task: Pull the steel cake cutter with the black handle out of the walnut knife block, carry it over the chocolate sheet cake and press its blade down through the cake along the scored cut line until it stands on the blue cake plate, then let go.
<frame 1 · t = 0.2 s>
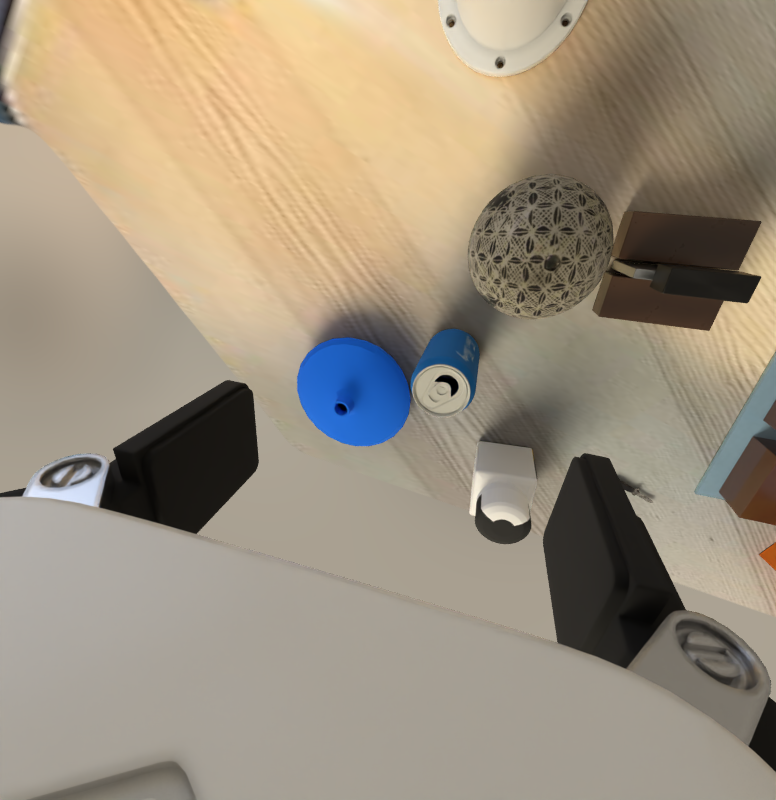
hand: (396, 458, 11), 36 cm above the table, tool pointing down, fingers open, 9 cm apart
cake cutter: (660, 269, 38), on the table
decorative egg: (528, 245, 40), on the table
beverage can: (453, 352, 47), on the table
vase: (359, 386, 52), on the table
medicine bottle: (501, 464, 52), on the table
knife: (626, 491, 49), on the table
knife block: (660, 269, 38), on the table
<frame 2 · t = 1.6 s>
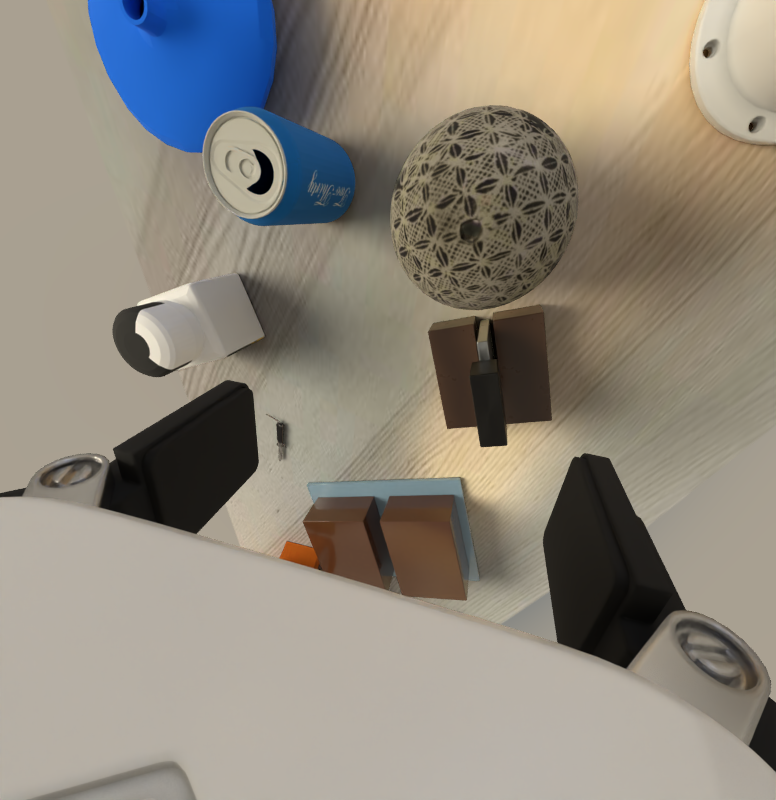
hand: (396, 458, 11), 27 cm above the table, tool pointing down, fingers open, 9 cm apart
alarm clock: (307, 568, 58), on the table
cake cutter: (491, 364, 36), on the table
decorative egg: (483, 216, 31), on the table
cake: (393, 530, 49), on the table
beverage can: (324, 182, 33), on the table
vase: (207, 45, 31), on the table
medicine bottle: (228, 312, 42), on the table
knife: (277, 437, 47), on the table
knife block: (491, 364, 36), on the table
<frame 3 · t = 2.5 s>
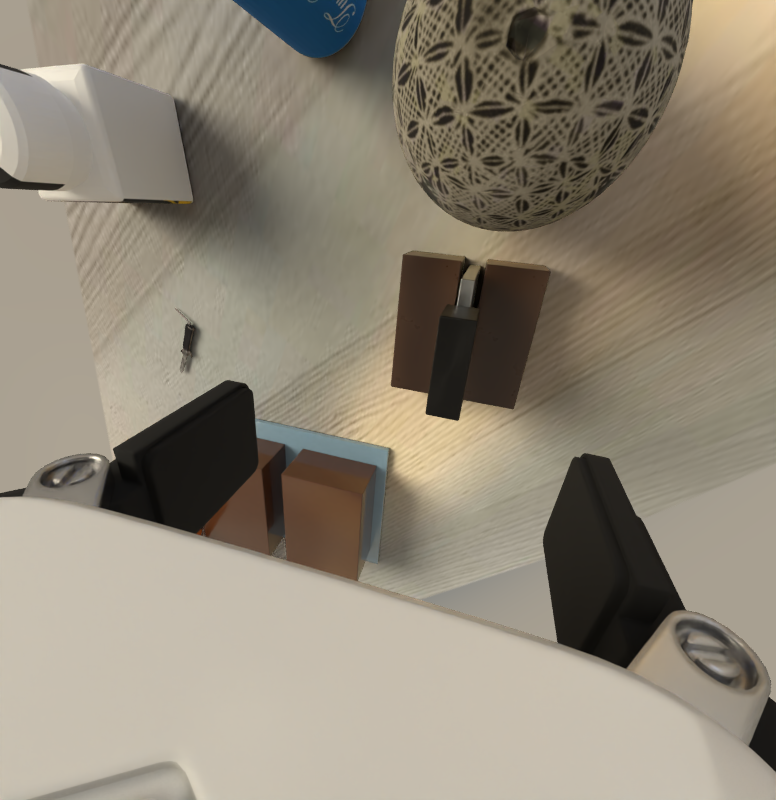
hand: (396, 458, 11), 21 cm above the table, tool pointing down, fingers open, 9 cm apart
cake cutter: (464, 325, 29), on the table
decorative egg: (517, 123, 23), on the table
cake: (298, 487, 42), on the table
medicine bottle: (150, 153, 30), on the table
knife: (183, 342, 38), on the table
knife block: (464, 325, 29), on the table
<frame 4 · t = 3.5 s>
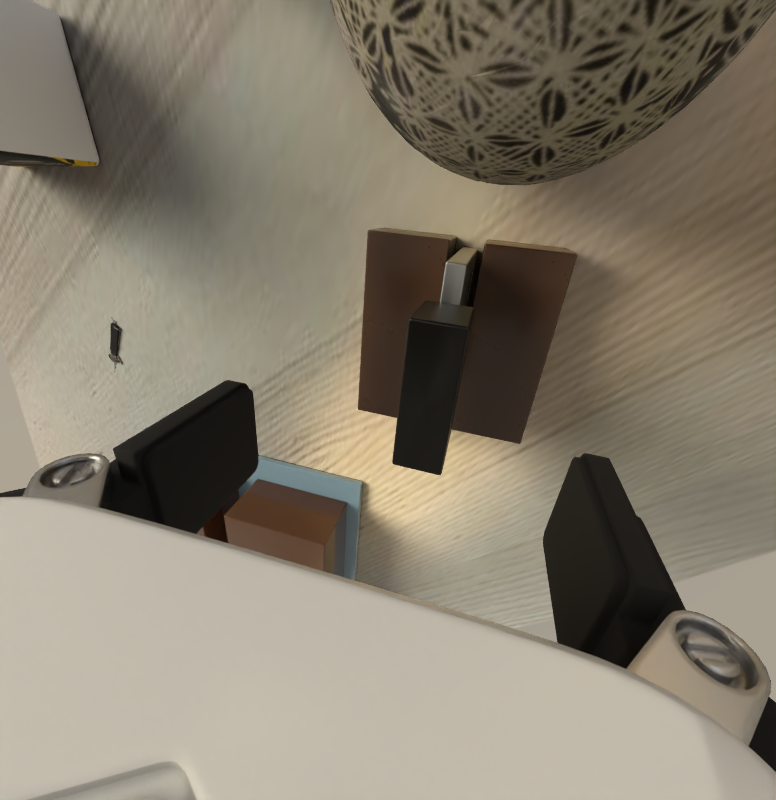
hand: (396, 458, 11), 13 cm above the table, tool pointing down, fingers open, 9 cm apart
cake cutter: (455, 329, 22), on the table
decorative egg: (531, 37, 16), on the table
cake: (255, 522, 35), on the table
medicine bottle: (41, 98, 23), on the table
knife: (112, 346, 31), on the table
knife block: (455, 329, 22), on the table
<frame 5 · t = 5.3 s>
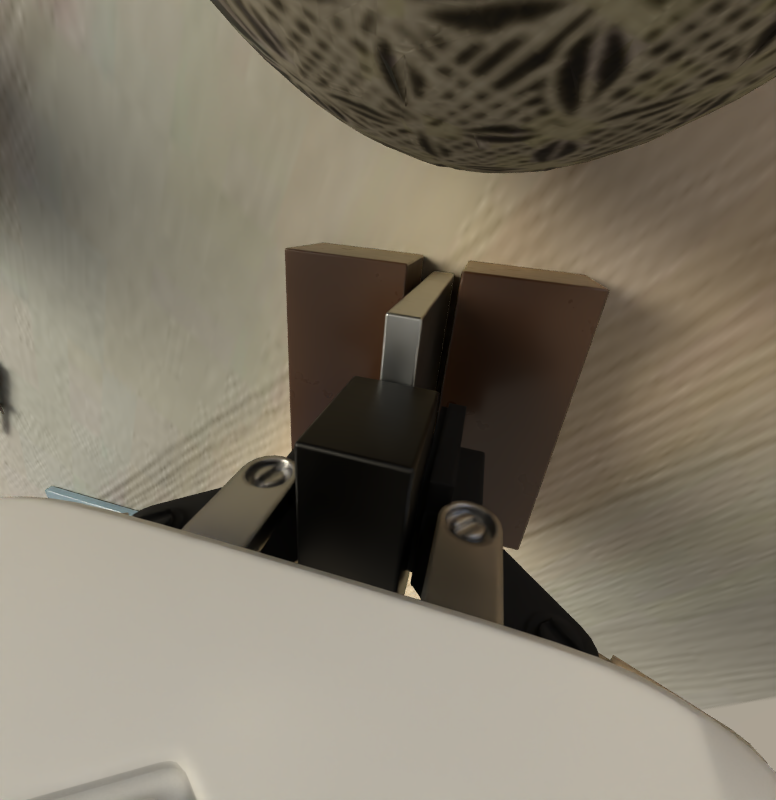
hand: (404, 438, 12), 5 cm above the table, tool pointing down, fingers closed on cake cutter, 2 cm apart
cake cutter: (427, 382, 16), on the table, touching gripper
cake: (192, 599, 28), on the table
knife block: (427, 382, 16), on the table
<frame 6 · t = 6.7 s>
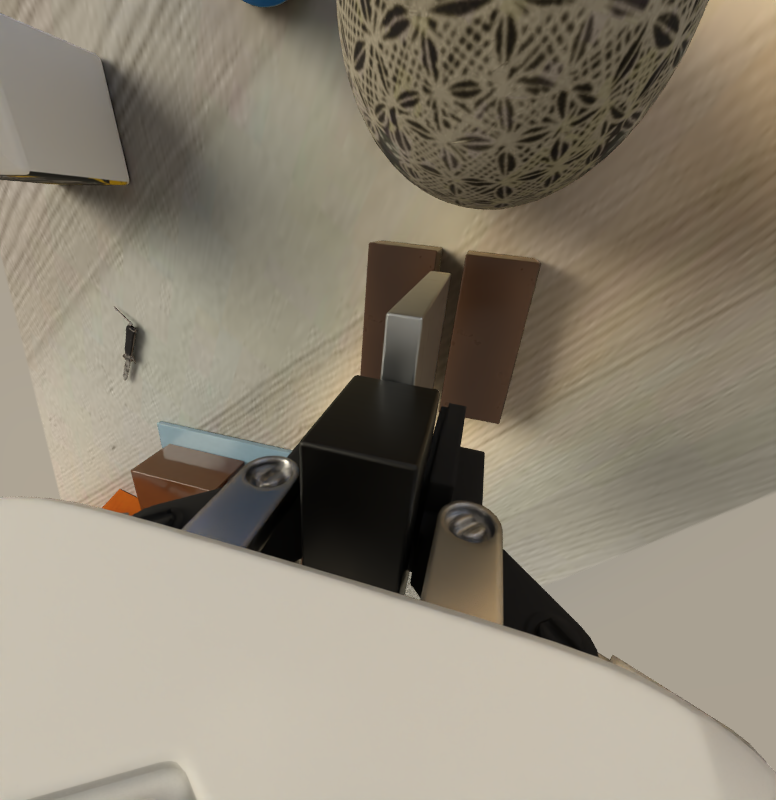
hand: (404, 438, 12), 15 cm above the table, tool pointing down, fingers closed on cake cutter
alarm clock: (141, 528, 44), on the table
cake cutter: (424, 381, 16), point 11 cm above the table, touching gripper
decorative egg: (500, 89, 20), on the table
cake: (261, 509, 38), on the table
medicine bottle: (79, 126, 26), on the table
knife: (126, 346, 33), on the table
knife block: (443, 327, 26), on the table
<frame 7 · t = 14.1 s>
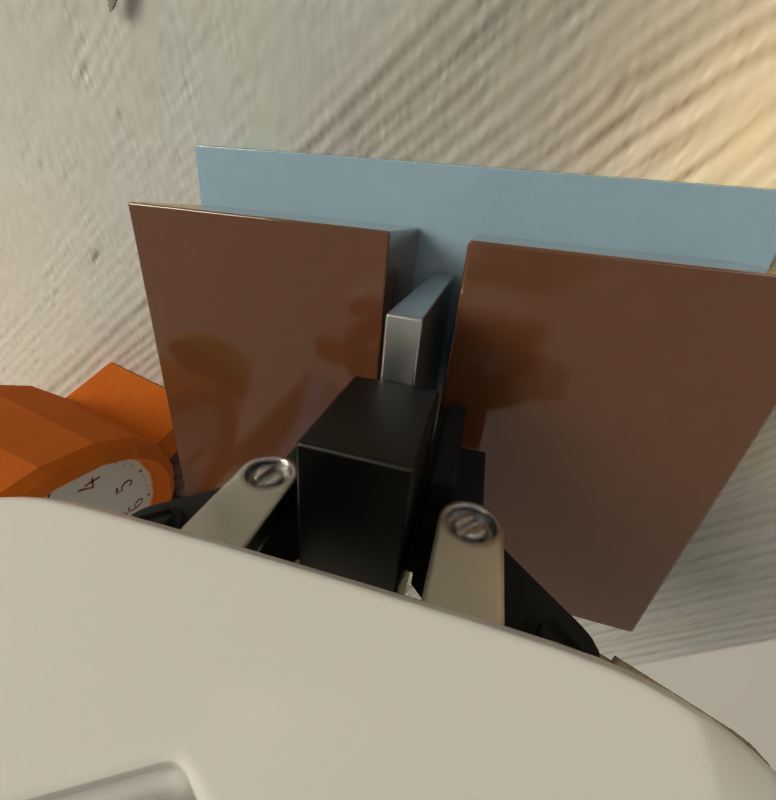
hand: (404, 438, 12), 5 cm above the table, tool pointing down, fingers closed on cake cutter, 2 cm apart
alarm clock: (154, 449, 23), on the table
cake cutter: (427, 383, 16), point 1 cm above the table, touching gripper
cake: (426, 379, 16), on the table
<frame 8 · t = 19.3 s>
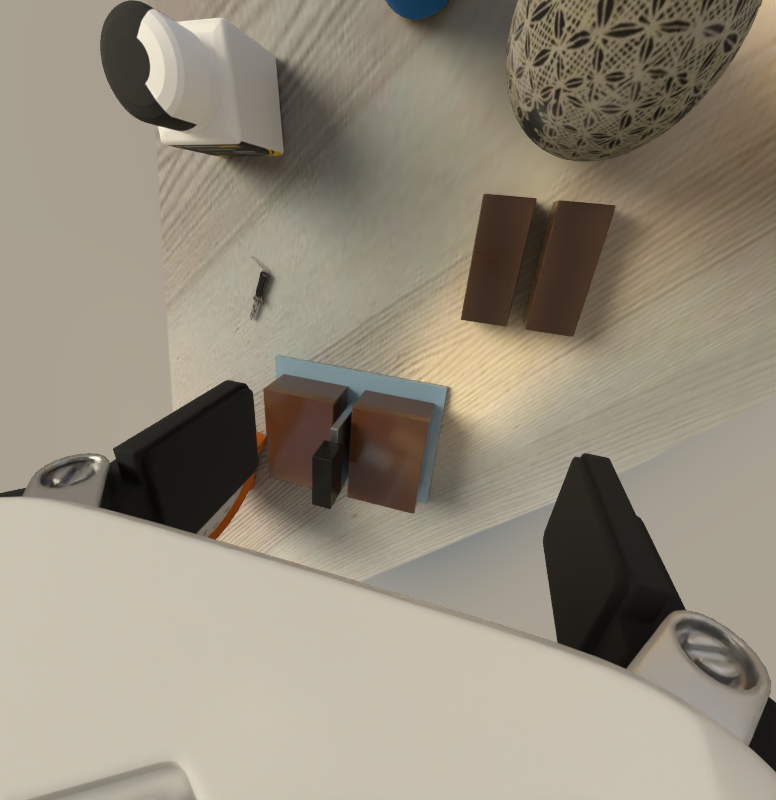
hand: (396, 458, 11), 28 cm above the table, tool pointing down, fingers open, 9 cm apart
alarm clock: (244, 455, 52), on the table
cake cutter: (355, 432, 45), resting on cake
decorative egg: (588, 78, 27), on the table
cake: (355, 430, 46), on the table
medicine bottle: (246, 110, 34), on the table
knife: (255, 290, 41), on the table
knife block: (527, 264, 33), on the table
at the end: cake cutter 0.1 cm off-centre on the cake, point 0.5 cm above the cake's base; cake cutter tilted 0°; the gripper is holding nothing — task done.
